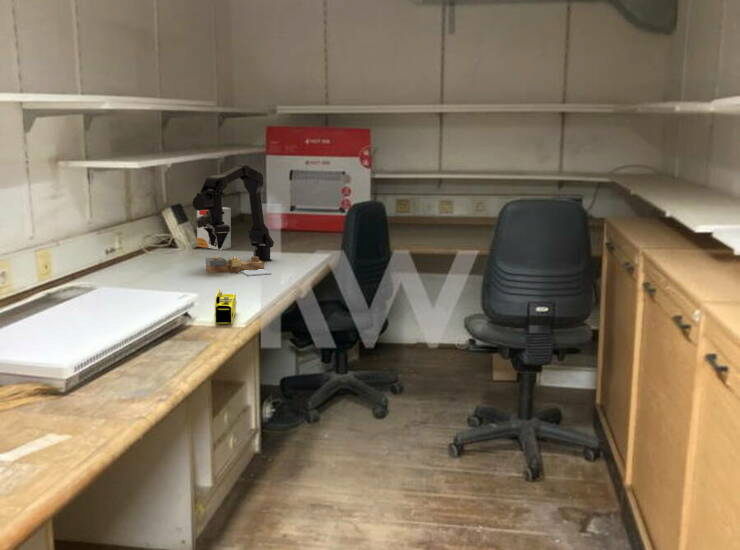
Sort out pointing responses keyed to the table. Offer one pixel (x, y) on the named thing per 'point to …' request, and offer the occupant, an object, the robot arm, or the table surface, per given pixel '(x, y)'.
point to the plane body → (245, 265)
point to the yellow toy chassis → (225, 308)
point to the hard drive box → (203, 234)
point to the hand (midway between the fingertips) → (215, 247)
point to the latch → (234, 262)
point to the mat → (256, 272)
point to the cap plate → (215, 261)
